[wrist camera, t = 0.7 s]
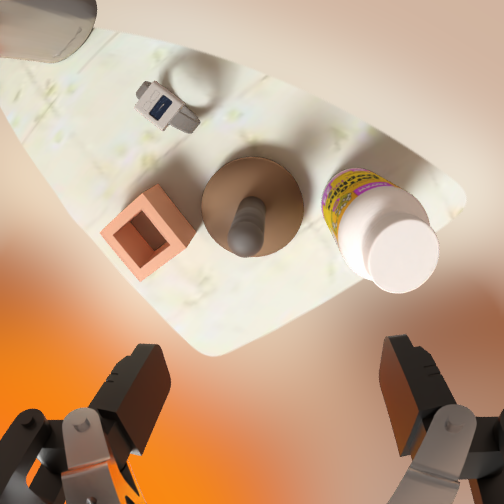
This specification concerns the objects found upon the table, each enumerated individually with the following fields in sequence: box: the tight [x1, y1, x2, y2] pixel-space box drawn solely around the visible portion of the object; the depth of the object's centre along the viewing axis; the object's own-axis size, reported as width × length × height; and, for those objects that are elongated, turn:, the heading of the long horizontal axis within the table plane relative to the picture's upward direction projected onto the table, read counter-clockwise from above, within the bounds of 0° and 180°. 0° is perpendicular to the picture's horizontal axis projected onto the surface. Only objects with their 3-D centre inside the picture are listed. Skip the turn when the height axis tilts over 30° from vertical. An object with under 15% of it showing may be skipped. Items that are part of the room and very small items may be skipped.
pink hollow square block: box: [100, 184, 196, 282], centre depth 28 cm, size 6×6×4 cm
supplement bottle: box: [321, 168, 439, 293], centre depth 22 cm, size 7×7×13 cm
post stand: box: [201, 157, 304, 257], centre depth 24 cm, size 9×9×10 cm
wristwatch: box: [134, 81, 200, 134], centre depth 23 cm, size 6×3×5 cm, turn 49°
